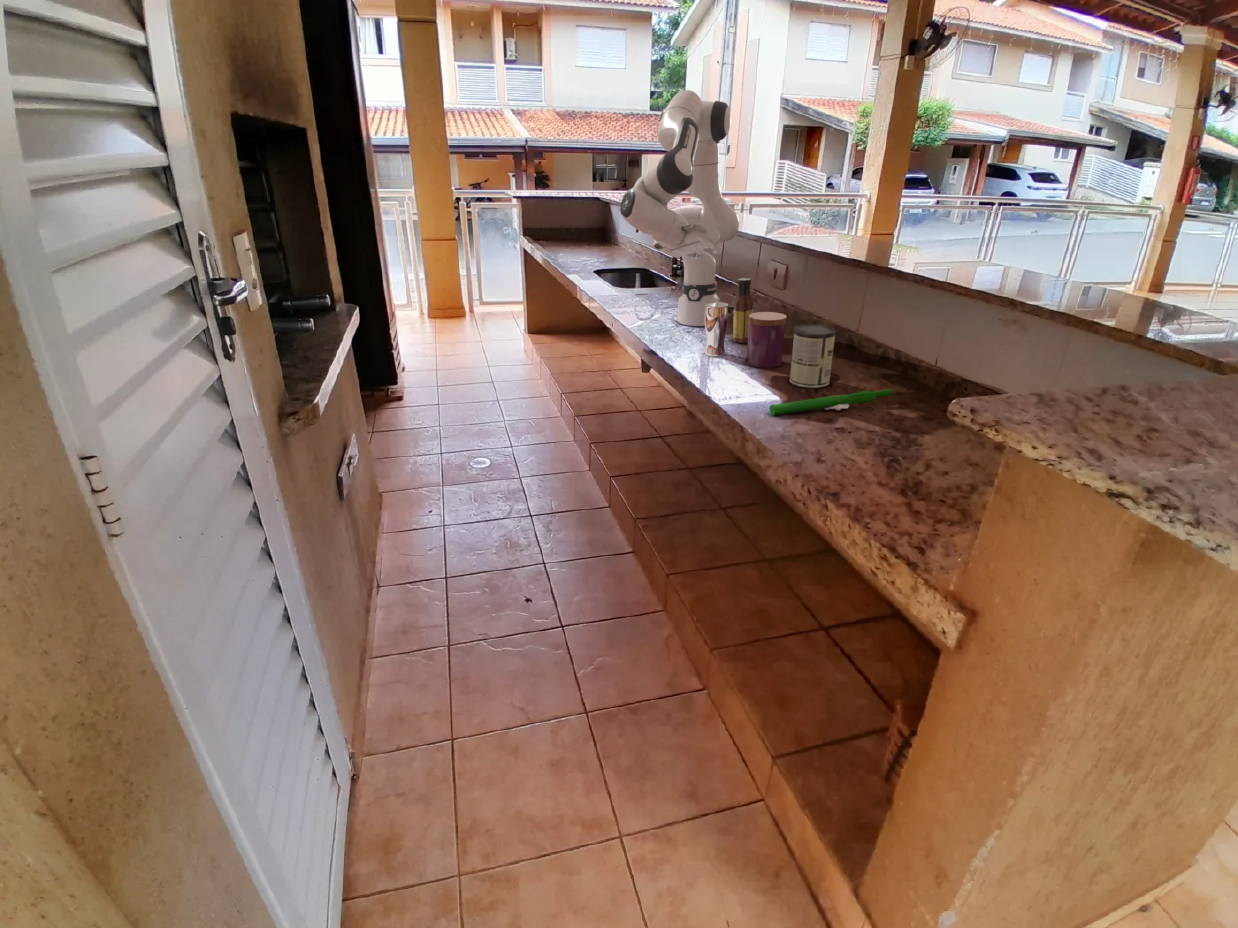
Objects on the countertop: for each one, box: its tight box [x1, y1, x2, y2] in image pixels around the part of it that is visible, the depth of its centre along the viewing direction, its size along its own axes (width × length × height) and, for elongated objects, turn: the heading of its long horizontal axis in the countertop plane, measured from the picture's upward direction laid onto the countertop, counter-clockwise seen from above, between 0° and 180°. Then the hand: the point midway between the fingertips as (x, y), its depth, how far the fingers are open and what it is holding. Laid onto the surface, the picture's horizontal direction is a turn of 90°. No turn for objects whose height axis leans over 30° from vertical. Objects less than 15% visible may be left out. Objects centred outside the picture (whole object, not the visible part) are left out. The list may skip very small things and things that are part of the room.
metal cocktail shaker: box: [704, 301, 729, 358], centre depth 185 cm, size 7×7×15 cm
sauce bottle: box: [732, 277, 754, 344], centre depth 196 cm, size 7×6×20 cm
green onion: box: [769, 388, 892, 416], centre depth 144 cm, size 5×3×30 cm
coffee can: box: [789, 323, 837, 389], centre depth 159 cm, size 10×10×14 cm
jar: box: [745, 311, 787, 369], centre depth 176 cm, size 10×10×14 cm
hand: (709, 254), depth 176 cm, fingers open, 8 cm apart
